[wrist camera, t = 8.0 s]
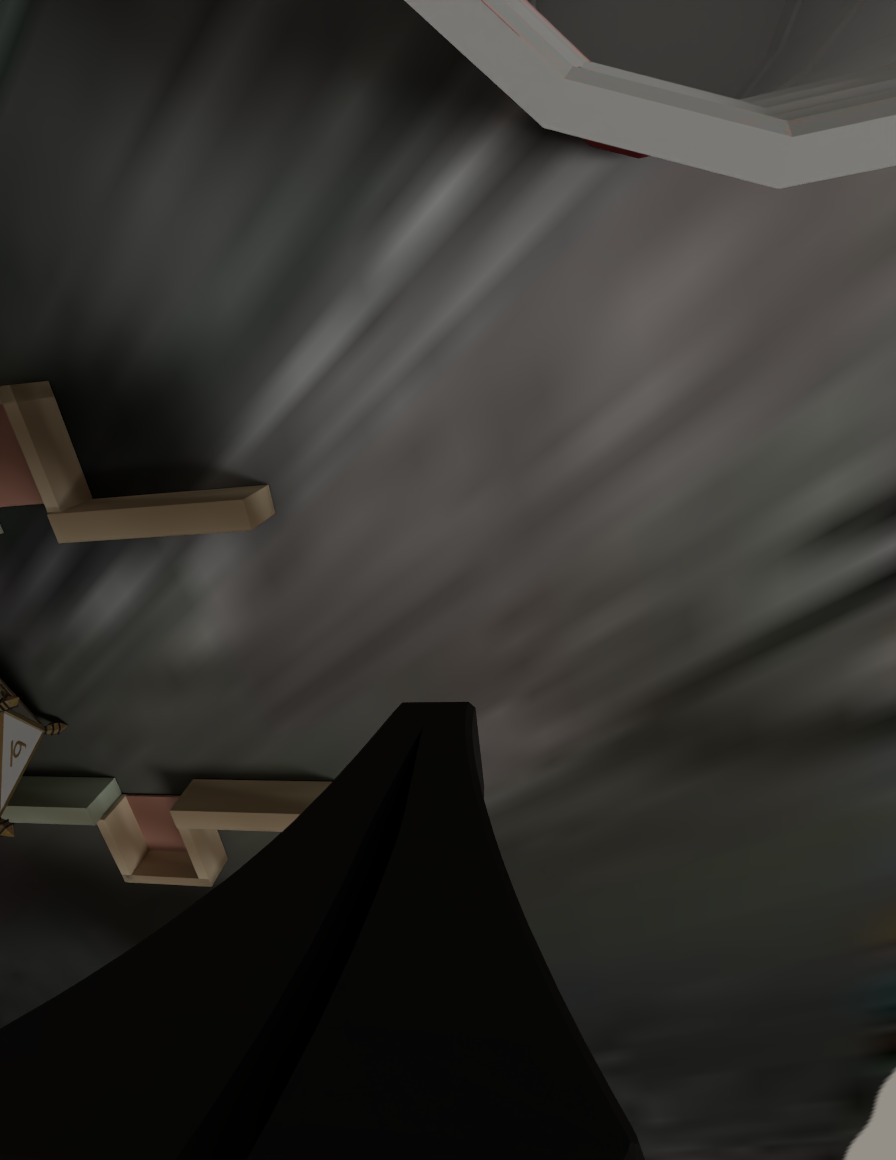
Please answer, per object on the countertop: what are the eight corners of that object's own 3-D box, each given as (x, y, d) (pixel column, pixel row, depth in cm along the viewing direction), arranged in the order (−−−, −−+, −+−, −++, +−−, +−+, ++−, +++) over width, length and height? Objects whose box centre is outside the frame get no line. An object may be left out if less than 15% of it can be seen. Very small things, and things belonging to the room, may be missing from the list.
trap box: (361, 864, 26) (341, 927, 23) (-35, 847, 30) (-93, 899, 27) (237, 357, 17) (181, 362, 14) (-302, 424, 21) (-426, 438, 18)
